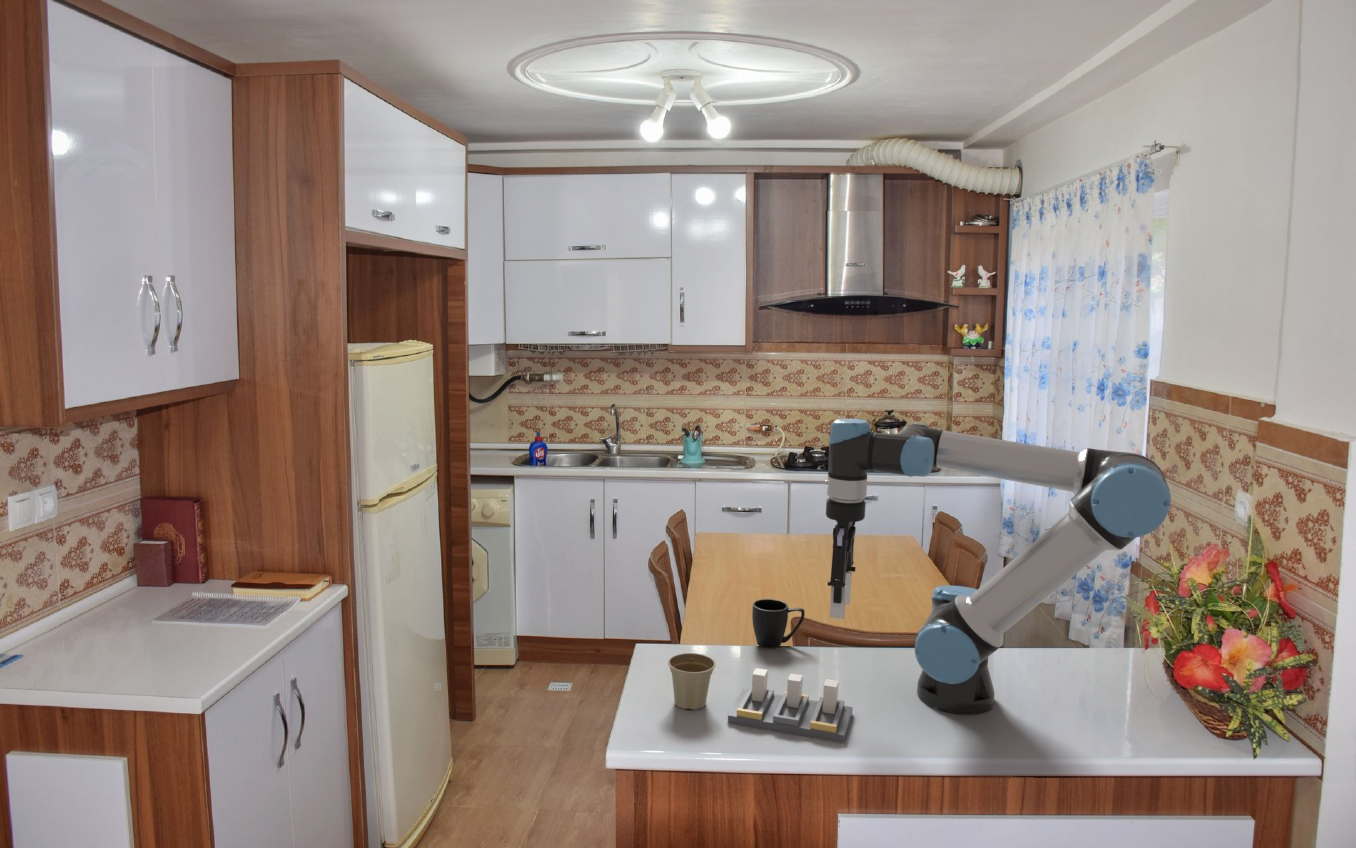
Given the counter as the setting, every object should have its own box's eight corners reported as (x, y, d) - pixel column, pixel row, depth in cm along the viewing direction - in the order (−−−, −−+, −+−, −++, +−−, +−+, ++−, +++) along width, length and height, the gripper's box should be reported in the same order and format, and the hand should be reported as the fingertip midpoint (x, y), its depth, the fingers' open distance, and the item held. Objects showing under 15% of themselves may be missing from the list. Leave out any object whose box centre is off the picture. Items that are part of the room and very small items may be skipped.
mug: (803, 653, 207) (805, 613, 205) (750, 649, 208) (752, 610, 206) (802, 639, 215) (804, 600, 213) (751, 636, 216) (753, 597, 214)
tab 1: (766, 695, 181) (767, 669, 180) (763, 702, 178) (764, 675, 177) (754, 693, 182) (756, 668, 181) (751, 700, 179) (752, 674, 178)
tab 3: (837, 707, 177) (838, 680, 176) (834, 714, 174) (836, 687, 173) (824, 705, 177) (826, 678, 177) (822, 712, 175) (823, 685, 174)
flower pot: (721, 699, 183) (722, 658, 181) (702, 718, 174) (704, 676, 173) (679, 689, 187) (680, 649, 185) (658, 707, 178) (660, 666, 177)
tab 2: (801, 701, 179) (802, 675, 178) (798, 708, 176) (800, 681, 175) (789, 699, 180) (790, 673, 179) (786, 706, 177) (787, 679, 176)
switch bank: (852, 714, 178) (852, 701, 177) (843, 743, 166) (844, 729, 166) (742, 696, 184) (743, 683, 184) (727, 722, 173) (728, 709, 172)
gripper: (834, 485, 187) (829, 591, 191) (818, 508, 168) (812, 625, 171) (871, 489, 185) (865, 595, 189) (859, 512, 166) (852, 631, 169)
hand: (840, 610), depth 180 cm, fingers open, 8 cm apart
